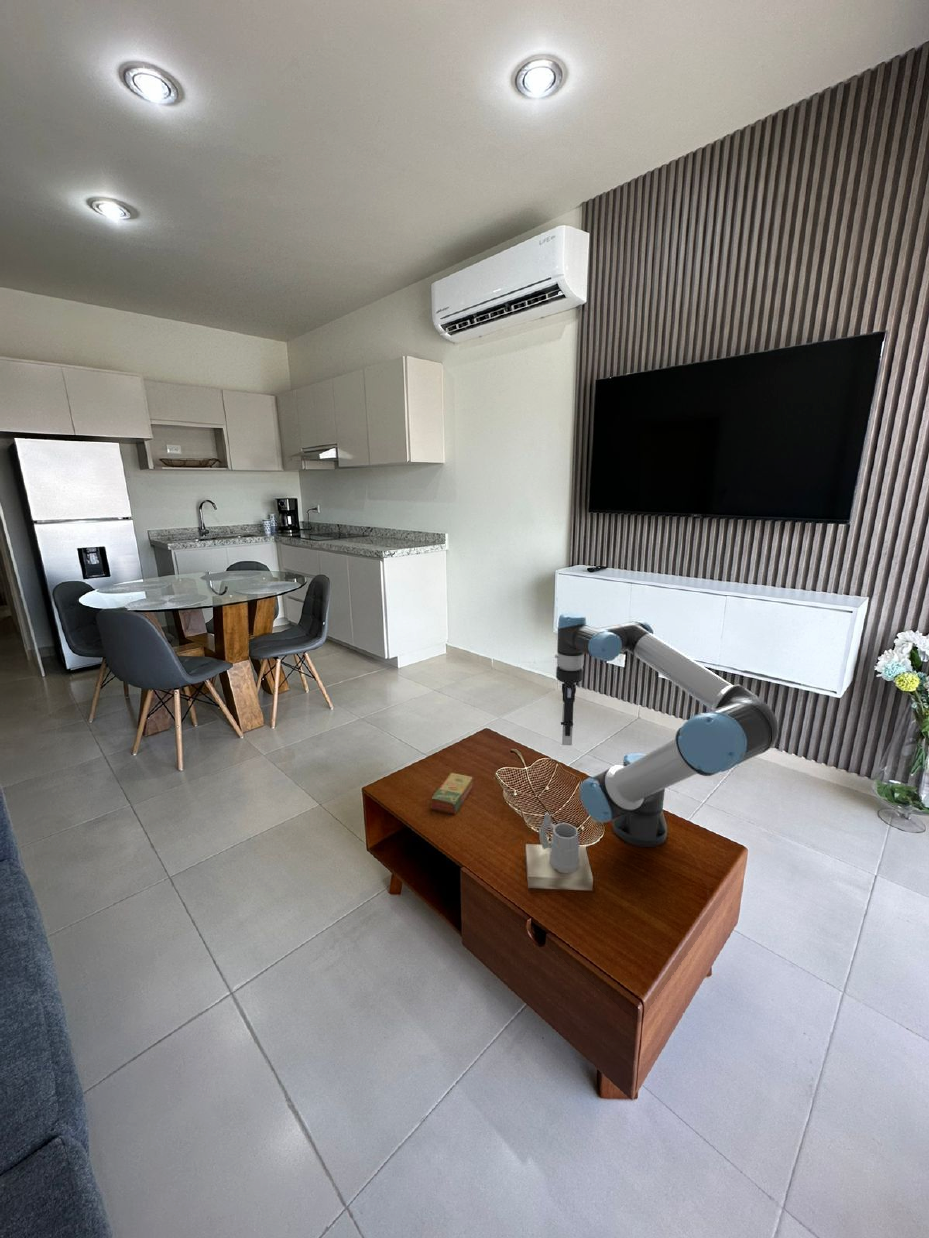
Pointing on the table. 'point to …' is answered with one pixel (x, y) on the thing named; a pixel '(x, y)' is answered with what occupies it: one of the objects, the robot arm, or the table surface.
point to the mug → (561, 845)
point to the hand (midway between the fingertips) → (566, 733)
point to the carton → (452, 793)
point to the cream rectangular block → (556, 871)
